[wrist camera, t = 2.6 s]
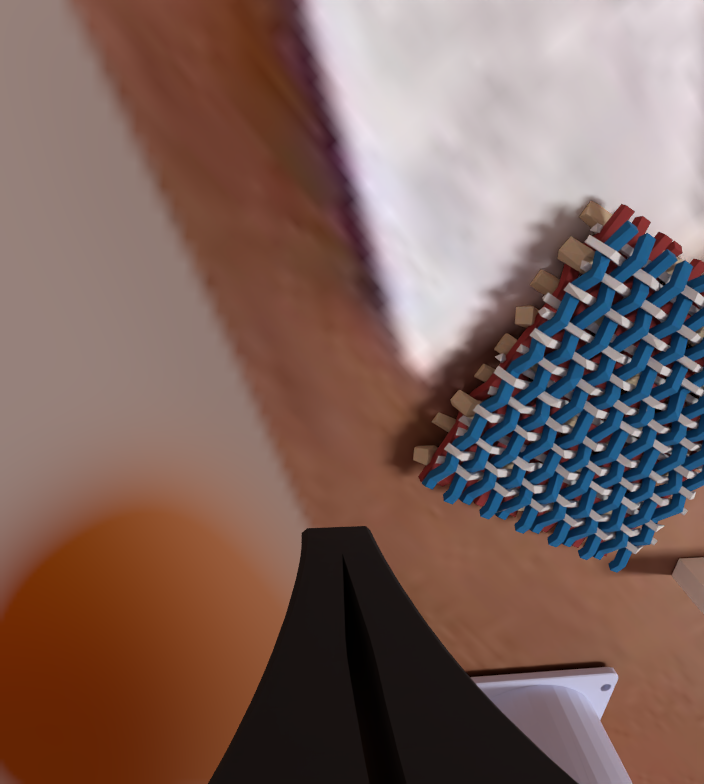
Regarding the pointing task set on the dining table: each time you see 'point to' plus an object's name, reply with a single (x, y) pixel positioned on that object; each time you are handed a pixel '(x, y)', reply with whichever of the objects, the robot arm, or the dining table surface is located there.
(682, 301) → the woven mat
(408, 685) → the robot arm
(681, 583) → the frame
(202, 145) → the dining table surface
